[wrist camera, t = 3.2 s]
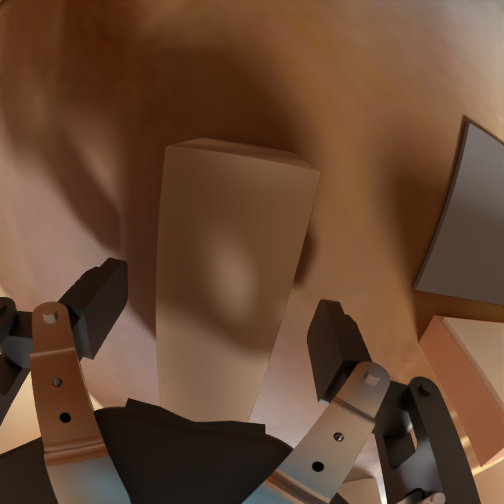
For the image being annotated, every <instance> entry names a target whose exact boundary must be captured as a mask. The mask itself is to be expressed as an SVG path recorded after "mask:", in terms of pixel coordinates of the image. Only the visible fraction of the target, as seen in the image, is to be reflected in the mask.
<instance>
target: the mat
mask: <svg viewBox="0 0 504 504" xmlns="http://www.w3.org/2000/svg"><path fill="white" fill-rule="evenodd" d="M413 288H414V289H415V290H419V291H424V292H430V293H435V294H441V295H446V296H452V297H458V298H463V299H469V300H475V301H480V302H486V303H492V304H497V305H503V306H504V145H502V144H501V143H499V142H498V141H497V140H495V139H494V138H492V137H491V136H489V135H488V134H487V133H485V132H484V131H482V130H481V129H479V128H477V127H476V126H474V125H473V124H471V123H469V122H466V125H465V130H464V135H463V140H462V144H461V149H460V153H459V157H458V161H457V165H456V169H455V173H454V176H453V180H452V184H451V187H450V190H449V194H448V197H447V200H446V203H445V206H444V209H443V212H442V215H441V218H440V221H439V224H438V227H437V230H436V232H435V235H434V238H433V240H432V243H431V245H430V248H429V251H428V253H427V255H426V258H425V260H424V263H423V265H422V267H421V270H420V272H419V274H418V277H417V279H416V281H415V283H414V285H413Z"/></svg>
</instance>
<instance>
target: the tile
mask: <svg viewBox="0 0 504 504" xmlns="http://www.w3.org/2000/svg"><path fill="white" fill-rule="evenodd" d="M418 343H419V345H420V347H421V348H422V350H423V352H424V353H425V355H426V357H427V359H428V360H429V362H430V364H431V366H432V367H433V369H434V371H435V373H436V374H437V376H438V378H439V380H440V382H441V384H442V385H443V387H444V389H445V391H446V393H447V395H448V397H449V399H450V401H451V403H452V405H453V407H454V409H455V411H456V413H457V415H458V417H459V419H460V421H461V423H462V425H463V427H464V429H465V431H466V433H467V436H468V438H469V440H470V442H471V445H472V447H473V449H474V451H475V454H476V456H477V458H478V461H479V463H480V466H481V467H482V466H484V465H487V464H489V463H491V462H493V461H495V460H497V459H499V458H501V457H503V456H504V323H500V322H490V321H480V320H471V319H461V318H453V317H444V316H436V315H434V316H433V318H432V320H431V321H430V323H429V325H428V327H427V329H426V330H425V332H424V334H423V335H422V337H421V339H420V340H419V342H418Z"/></svg>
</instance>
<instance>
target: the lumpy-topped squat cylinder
mask: <svg viewBox="0 0 504 504" xmlns="http://www.w3.org/2000/svg"><path fill="white" fill-rule="evenodd" d="M337 492H338V493H339V494H340V495H341V496H342V497H343V498H344V499H345V500H346V501H347V502H348V503H349V504H382V503H381V499H380V494H379V489H378V485H377V480H376V479H375V478H365V479H359V480H354V481H349V482H345V483H342V484H341V486H340V488H339V489H338V491H337Z"/></svg>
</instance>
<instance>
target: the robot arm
mask: <svg viewBox="0 0 504 504" xmlns="http://www.w3.org/2000/svg"><path fill="white" fill-rule="evenodd" d="M127 298H128V273H127V262H126V261H122V260H118V259H114V258H108V259H107V260H106V261H105V262H104V263H103V264H102V265H101V266H100V267H94V268H92V269H90V270H88V271H86V272H85V273H84V274H83V275H82V276H81V277H80V279H78V280H77V281H76V282H75V284H74V285H73V286H72V287H71V288H70V289H69V290H68V291H67V292H66V293H65V294H64V295H63V296H62V297H61V298H60V300H59V301H58V302H46V303H43V304H40V305H39V306H37V307H36V308H35V309H34V311H33V312H24V311H17V309H16V305H15V302H14V301H13V300H12V299H10V298H8V297H0V353H1V354H0V426H1V424H2V421H3V419H4V417H5V416H6V414H7V412H8V410H9V408H10V406H11V403H12V402H13V400H14V398H15V397H16V395H17V393H18V391H19V389H20V388H21V386H22V384H23V382H24V381H25V379H26V377H27V375H28V374H29V372H30V370H31V378H32V386H33V394H34V400H35V407H36V412H37V418H38V423H39V428H40V432H41V437H39V438H37V439H35V440H32V441H30V442H28V443H26V444H24V445H21V446H19V447H17V448H15V449H12V450H10V451H7V452H5V453H3V454H0V504H349V503H348V502H347V501H346V500H345V499H344V498H343V497H342V496H341V495H340V494H339V493H338V492H337V491H338V489H339V488H340V486H341V484H342V483H343V481H344V480H345V478H346V476H347V475H348V473H349V472H350V470H351V468H352V467H353V465H354V463H355V461H356V460H357V458H358V456H359V454H360V453H361V451H362V449H363V447H364V445H365V443H366V442H367V440H368V438H369V436H370V434H371V433H373V434H375V439H376V444H377V448H378V453H379V458H380V464H381V469H382V474H383V480H384V486H385V492H386V498H387V504H481V502H480V499H479V495H478V492H477V488H476V485H475V482H474V479H473V475H472V472H471V469H470V466H469V463H468V460H467V457H466V455H465V452H464V449H463V446H462V444H461V441H460V438H459V436H458V433H457V431H456V428H455V426H454V423H453V421H452V418H451V416H450V414H449V411H448V409H447V407H446V404H445V402H444V400H443V397H442V395H441V393H440V391H439V389H438V387H437V386H436V385H435V383H433V382H432V381H431V380H429V379H427V378H425V377H415V378H413V379H412V380H411V381H410V383H409V384H408V385H405V384H401V383H398V382H394V381H391V380H390V376H389V374H388V372H387V371H386V370H385V369H384V368H383V367H382V366H380V365H378V364H376V363H373V362H372V360H371V357H370V355H369V352H368V350H367V348H366V345H365V343H364V340H363V338H362V336H361V333H360V331H359V329H358V326H357V324H356V322H355V321H354V320H353V319H352V318H351V317H350V316H349V315H345V314H344V312H343V309H342V307H341V304H340V303H339V302H337V301H331V300H324V299H321V300H320V302H319V304H318V306H317V309H316V311H315V314H314V317H313V319H312V322H311V324H310V327H309V330H308V334H307V344H308V350H309V355H310V360H311V365H312V371H313V376H314V381H315V387H316V392H317V398H318V403H329V405H328V407H327V408H326V409H325V411H324V412H323V414H322V415H321V416H320V417H319V419H318V420H317V421H316V423H315V424H314V425H313V427H312V428H311V429H310V430H309V432H308V433H307V434H306V435H305V437H304V438H303V439H302V440H301V441H300V443H299V444H298V445H297V446H296V447H295V449H293V448H292V447H291V446H290V445H288V444H287V443H285V442H283V441H281V440H280V439H278V438H275V437H273V436H271V435H268V434H265V424H257V423H248V422H240V421H232V420H229V421H210V422H194V421H191V420H189V419H186V418H184V417H182V416H179V415H177V414H175V413H173V412H171V411H169V410H166V409H164V408H162V407H160V406H156V405H152V404H148V403H144V402H140V401H137V400H133V399H130V398H128V400H127V403H126V406H125V407H107V408H102V409H98V410H96V411H94V408H93V405H92V402H91V399H90V396H89V393H88V389H87V386H86V383H85V379H84V376H83V372H82V368H81V365H80V361H81V359H82V357H83V356H84V357H86V358H89V359H92V360H93V359H94V357H95V355H96V354H97V352H98V350H99V349H100V347H101V345H102V343H103V342H104V340H105V338H106V337H107V335H108V333H109V332H110V330H111V329H112V327H113V325H114V324H115V322H116V320H117V319H118V317H119V316H120V314H121V312H122V311H123V309H124V307H125V305H126V302H127ZM412 429H413V430H414V433H415V436H416V439H417V449H416V450H415V447H414V443H413V440H412V437H411V433H410V431H411V430H412Z"/></svg>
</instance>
